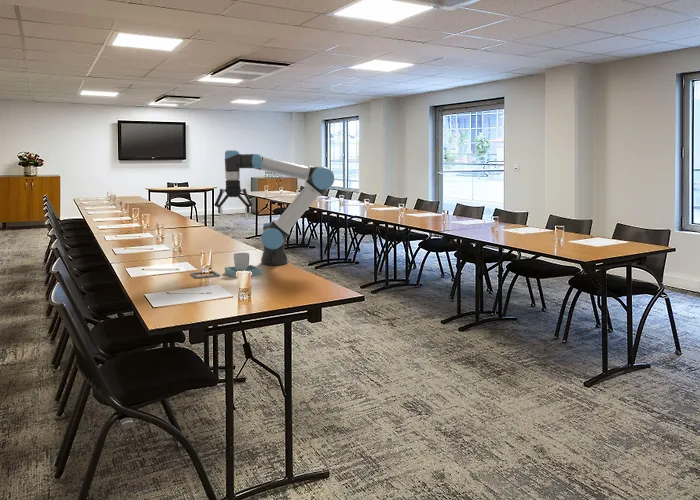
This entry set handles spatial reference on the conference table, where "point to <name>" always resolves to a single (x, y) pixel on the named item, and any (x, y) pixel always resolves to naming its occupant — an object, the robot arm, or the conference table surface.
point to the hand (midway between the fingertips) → (234, 219)
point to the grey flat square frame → (205, 276)
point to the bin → (255, 271)
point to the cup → (241, 261)
